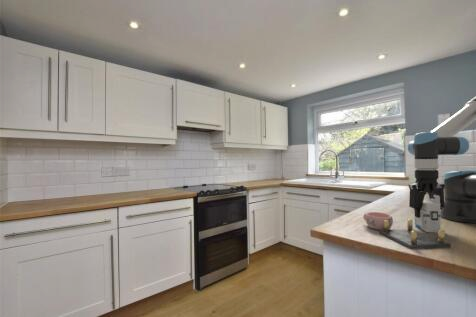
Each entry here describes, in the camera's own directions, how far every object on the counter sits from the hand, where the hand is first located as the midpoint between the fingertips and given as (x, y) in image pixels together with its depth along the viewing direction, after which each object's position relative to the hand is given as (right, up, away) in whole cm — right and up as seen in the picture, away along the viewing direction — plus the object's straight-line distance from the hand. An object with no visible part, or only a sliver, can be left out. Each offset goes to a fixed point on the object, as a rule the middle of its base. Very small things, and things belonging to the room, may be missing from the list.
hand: (427, 224), depth 92 cm
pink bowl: (-19, -2, +3) cm, 20 cm away
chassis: (-15, -2, -11) cm, 19 cm away
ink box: (0, -2, 0) cm, 2 cm away
